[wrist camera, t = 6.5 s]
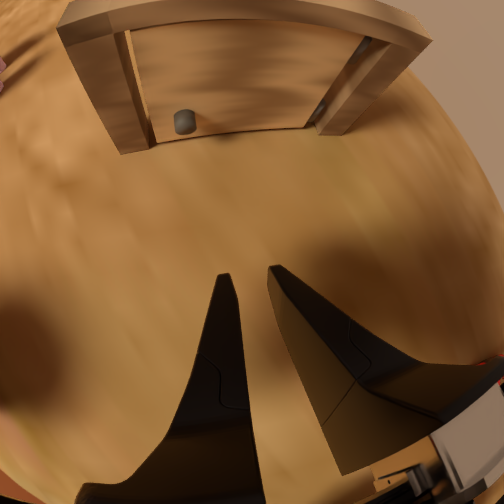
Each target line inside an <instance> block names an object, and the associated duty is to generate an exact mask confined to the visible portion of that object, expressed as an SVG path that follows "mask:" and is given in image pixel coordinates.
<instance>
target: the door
mask: <svg viewBox="0 0 504 504" xmlns="http://www.w3.org/2000/svg"><path fill="white" fill-rule="evenodd" d="M130 36H131V41H132V45H133V50H134V54H135V59H136V63H137V68H138V72H139V76H140V80H141V84H142V88H143V93H144V96H145V100H146V104H147V108H148V112H149V116H150V119H151V123H152V127H153V130H154V134H155V137H156V141H157V143H160V142H165V141H171V140H177V139H183V138H189V137H196V136H203V135H210V134H218V133H227V132H236V131H247V130H259V129H274V128H294V127H304V125H305V124H306V122H313V121H314V120H315V119H316V118H317V116H318V115H319V113H320V112H321V110H322V109H323V108H324V106H325V104H326V102H325V100H324V99H323V97H324V95H325V94H326V92H327V91H328V89H329V88H330V86H331V85H332V83H333V82H334V80H335V79H336V77H337V76H338V74H339V73H340V72H341V70H342V69H343V67H344V66H345V64H346V63H348V64H355V63H356V62H357V60H358V59H359V57H360V56H361V55H362V53H363V52H364V51H365V49H366V48H367V47H368V45H369V44H370V43H371V41H372V37H370V36H366V35H362V34H358V33H354V32H350V31H345V30H340V29H335V28H330V27H325V26H319V25H312V24H305V23H297V22H288V21H277V20H262V19H209V20H194V21H183V22H174V23H166V24H159V25H153V26H147V27H141V28H136V29H131V30H130Z"/></svg>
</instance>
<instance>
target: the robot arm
mask: <svg viewBox="0 0 504 504" xmlns="http://www.w3.org/2000/svg"><path fill="white" fill-rule="evenodd" d="M267 286H268V291H269V295H270V298H271V302H272V305H273V309H274V313H275V316H276V320H277V323H278V326H279V329H280V332H281V334H282V336H283V339H284V341H285V344H286V346H287V348H288V351H289V353H290V355H291V358H292V360H293V362H294V365H295V367H296V370H297V372H298V374H299V377H300V379H301V381H302V384H303V386H304V388H305V391H306V393H307V395H308V398H309V400H310V402H311V405H312V407H313V410H314V412H315V414H316V417H317V419H318V421H319V424H320V426H321V429H322V431H323V433H324V436H325V438H326V440H327V443H328V445H329V447H330V450H331V452H332V454H333V457H334V459H335V461H336V464H337V466H338V468H339V470H340V473H341V475H342V476H344V475H346V474H349V473H352V472H354V471H357V470H359V469H362V468H364V467H366V466H370V469H371V471H372V473H373V476H374V478H375V481H374V482H373V484H374V486H375V489H376V491H377V493H375V494H373V495H371V496H369V497H366V498H364V499H362V500H360V501H358V502H355V503H353V504H475V502H474V500H473V498H475V497H476V496H478V495H479V494H481V493H482V492H484V491H485V490H486V489H488V488H489V487H490V486H491V485H492V484H493V483H494V482H495V481H496V480H497V479H498V478H499V477H500V476H501V475H502V474H503V473H504V383H502V384H501V385H500V386H499V384H498V381H499V380H500V379H501V378H502V377H503V376H504V356H495V357H494V358H493V359H492V360H490V361H489V362H488V363H485V364H482V365H447V364H430V363H424V362H421V361H418V360H416V359H414V358H412V357H410V356H408V355H407V354H405V353H403V352H402V351H400V350H398V349H397V348H395V347H393V346H392V345H390V344H388V343H387V342H385V341H383V340H382V339H380V338H379V337H377V336H376V335H374V334H373V333H371V332H370V331H368V330H367V329H365V328H364V327H363V326H361V325H360V324H359V323H357V322H356V321H355V320H353V319H351V317H349V316H348V315H347V314H345V313H344V312H343V311H341V310H340V309H339V308H337V307H336V306H335V305H333V304H332V303H331V302H329V301H328V300H327V299H326V298H324V297H323V296H322V295H320V294H319V293H318V292H316V291H315V290H314V289H312V288H311V287H310V286H308V285H307V284H306V283H304V282H303V281H302V280H300V279H299V278H298V277H296V276H295V275H294V274H292V273H291V272H290V271H288V270H287V269H286V268H284V267H283V266H282V265H273V266H269V267H268V278H267ZM0 504H35V503H31V502H27V501H23V500H20V499H16V498H13V497H10V496H7V495H4V494H1V493H0ZM74 504H266V500H265V495H264V490H263V484H262V479H261V473H260V467H259V462H258V456H257V450H256V444H255V438H254V432H253V426H252V418H251V412H250V402H249V394H248V385H247V376H246V368H245V359H244V350H243V341H242V331H241V322H240V312H239V303H238V298H237V294H236V291H235V288H234V285H233V282H232V279H231V276H230V274H229V273H224V274H219V275H218V276H217V278H216V282H215V286H214V289H213V293H212V297H211V300H210V304H209V308H208V312H207V315H206V319H205V323H204V327H203V331H202V334H201V338H200V342H199V346H198V350H197V354H196V357H195V361H194V365H193V368H192V372H191V375H190V378H189V381H188V384H187V386H186V389H185V392H184V394H183V397H182V399H181V401H180V404H179V406H178V409H177V411H176V414H175V416H174V418H173V421H172V423H171V425H170V428H169V430H168V432H167V433H166V435H165V437H164V438H163V440H162V441H161V443H160V444H159V445H158V446H157V447H156V448H155V449H154V451H153V452H152V453H151V454H150V455H149V456H148V458H147V459H146V460H145V461H144V462H143V463H142V464H141V466H140V467H139V468H138V469H137V470H136V471H135V472H134V473H133V475H132V476H130V477H129V478H128V479H127V480H125V481H123V482H121V483H117V484H102V483H84V484H83V485H82V487H81V489H80V491H79V492H78V494H77V496H76V499H75V503H74ZM496 504H504V495H503V496H502V497H501V498H500V499H499V500H498V501H497V503H496Z"/></svg>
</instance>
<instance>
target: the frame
mask: <svg viewBox="0 0 504 504" xmlns="http://www.w3.org/2000/svg"><path fill="white" fill-rule="evenodd" d="M209 19H262V20H277V21H288V22H297V23H305V24H312V25H319V26H325V27H330V28H335V29H340V30H345V31H350V32H354V33H358V34H362V35H366V36H370V37H372V41H371V43H370V44H369V45H368V47H367V48H366V49H365V51H364V52H363V53H362V55H361V56H360V57H359V59H358V60H357V62H356V63H355V64H348V63H346V64H345V66H344V67H343V69H342V70H341V72H340V73H339V74H338V76H337V77H336V79H335V80H334V82H333V83H332V85H331V86H330V88H329V89H328V91H327V92H326V94H325V95H324V97H323V99H324V100H325V102H326V104H325V106H324V108H323V109H322V110H321V112H320V113H319V115H318V116H317V118H316V119H315V120H314V123H315V126H316V129H317V132H318V135H342V134H343V133H344V132H345V131H346V130H347V129H348V128H349V127H350V126H351V125H352V124H353V123H354V122H355V121H356V120H357V119H358V118H359V116H360V115H361V114H362V113H363V112H364V111H365V110H366V109H367V108H368V107H369V106H370V105H371V104H372V103H373V102H374V101H375V100H376V99H377V98H378V97H379V96H380V94H381V93H382V92H383V91H384V90H385V89H386V88H387V87H388V86H389V85H390V84H391V83H392V82H393V81H394V80H395V79H396V78H397V77H398V76H399V75H400V74H401V73H402V72H403V71H404V70H405V69H406V68H407V67H408V65H409V64H410V63H411V62H412V61H413V60H414V59H415V58H416V57H417V56H418V55H419V54H420V53H421V52H422V51H423V50H424V49H425V48H426V47H427V46H428V45H429V44H430V43H431V42H432V41H433V40H432V38H431V37H430V35H429V34H428V33H427V31H426V30H425V29H424V27H423V26H422V25H421V24H420V22H419V21H418V19H417V18H416V17H415V16H414V15H411V14H409V13H407V12H404V11H402V10H400V9H397V8H395V7H392V6H389V5H387V4H384V3H381V2H379V1H375V0H75V1H72V2H69V4H68V6H67V7H66V9H65V11H64V13H63V15H62V17H61V19H60V21H59V23H58V25H57V27H56V29H57V32H58V34H59V36H60V38H61V41H62V43H63V45H64V47H65V49H66V52H67V54H68V56H69V58H70V60H71V62H72V64H73V66H74V68H75V70H76V72H77V74H78V77H79V79H80V81H81V83H82V85H83V86H84V88H85V90H86V92H87V94H88V96H89V98H90V100H91V102H92V104H93V106H94V108H95V110H96V111H97V113H98V115H99V117H100V119H101V121H102V123H103V124H104V126H105V128H106V130H107V132H108V133H109V135H110V137H111V139H112V141H113V142H114V144H115V146H116V148H117V149H118V151H119V153H120V155H121V154H126V153H131V152H136V151H142V150H147V149H149V130H148V122H147V118H146V115H145V111H144V108H143V104H142V101H141V97H140V93H139V90H138V86H137V82H136V78H135V74H134V70H133V66H132V62H131V58H130V54H129V50H128V46H127V41H126V37H125V33H124V31H126V30H131V29H136V28H141V27H147V26H153V25H159V24H166V23H174V22H183V21H194V20H209Z"/></svg>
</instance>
